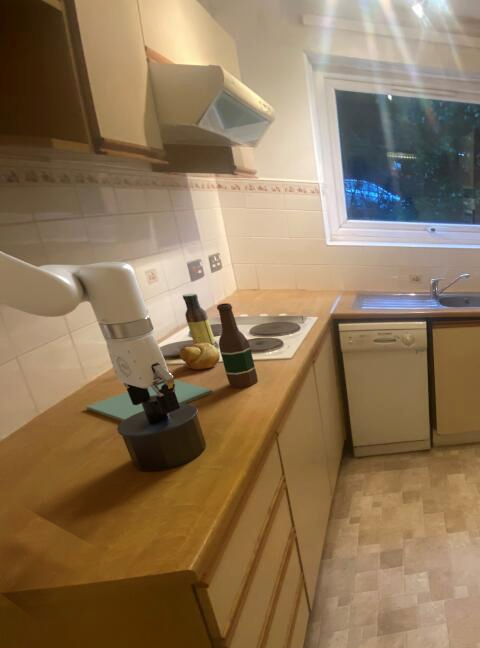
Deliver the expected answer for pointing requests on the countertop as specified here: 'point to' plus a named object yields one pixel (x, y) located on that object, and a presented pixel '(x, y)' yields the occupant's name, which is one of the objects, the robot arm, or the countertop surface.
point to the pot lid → (155, 419)
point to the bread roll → (200, 356)
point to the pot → (166, 448)
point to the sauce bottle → (198, 321)
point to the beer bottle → (235, 351)
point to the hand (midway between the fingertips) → (156, 406)
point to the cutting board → (123, 406)
